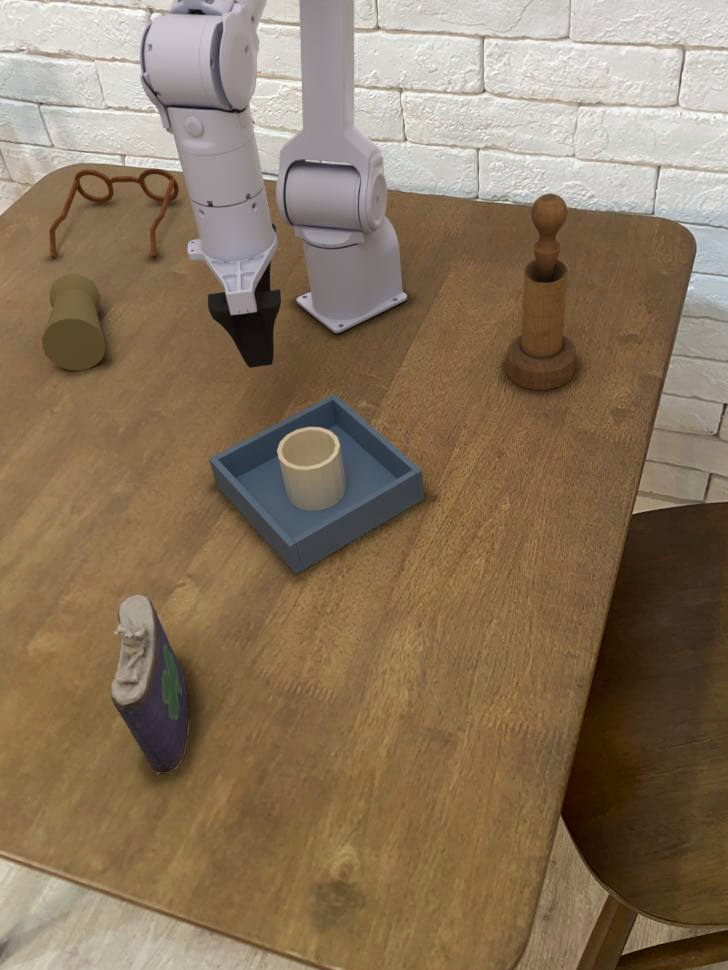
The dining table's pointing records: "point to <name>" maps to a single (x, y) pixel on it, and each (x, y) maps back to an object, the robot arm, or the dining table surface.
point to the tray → (316, 534)
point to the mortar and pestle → (543, 308)
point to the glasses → (107, 198)
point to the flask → (150, 686)
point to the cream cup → (312, 468)
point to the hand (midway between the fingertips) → (259, 336)
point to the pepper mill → (74, 324)
